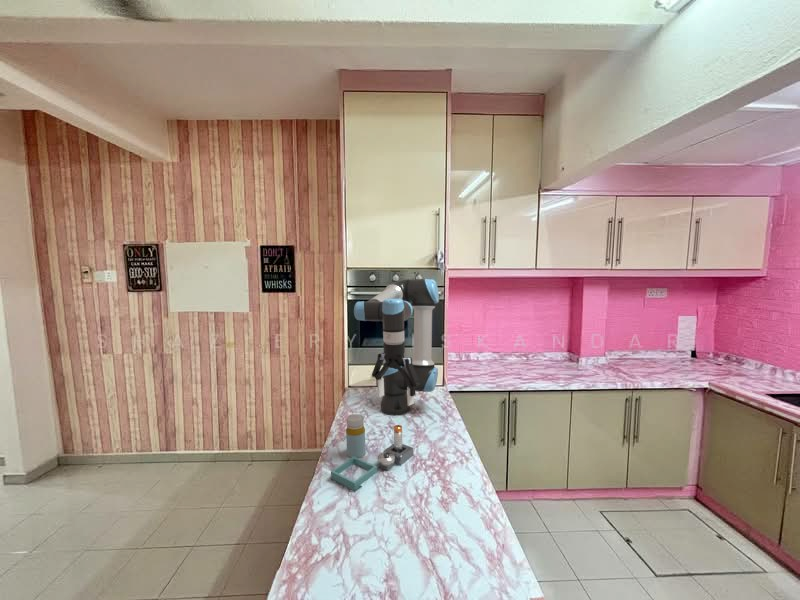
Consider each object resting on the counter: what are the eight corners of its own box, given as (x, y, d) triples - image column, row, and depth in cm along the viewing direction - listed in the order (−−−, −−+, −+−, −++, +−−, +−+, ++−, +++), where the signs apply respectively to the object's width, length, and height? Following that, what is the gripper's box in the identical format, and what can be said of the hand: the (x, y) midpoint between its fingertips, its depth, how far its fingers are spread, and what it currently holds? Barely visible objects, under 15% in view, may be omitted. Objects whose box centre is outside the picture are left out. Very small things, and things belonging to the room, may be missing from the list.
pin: (397, 453, 128) (397, 424, 127) (404, 456, 126) (403, 426, 125) (392, 457, 126) (392, 427, 124) (399, 460, 124) (398, 429, 123)
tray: (354, 464, 124) (353, 456, 123) (377, 474, 117) (377, 466, 117) (331, 479, 115) (330, 471, 115) (354, 492, 108) (354, 483, 108)
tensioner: (390, 477, 116) (389, 461, 115) (372, 469, 120) (372, 454, 120) (413, 458, 127) (413, 444, 126) (396, 451, 131) (396, 438, 131)
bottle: (362, 461, 125) (361, 422, 124) (344, 460, 126) (342, 421, 125) (368, 451, 132) (366, 414, 130) (350, 450, 133) (349, 413, 132)
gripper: (361, 340, 126) (363, 396, 128) (416, 349, 111) (418, 412, 113) (374, 336, 132) (376, 390, 134) (429, 344, 117) (430, 404, 119)
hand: (395, 400), depth 124 cm, fingers open, 13 cm apart
